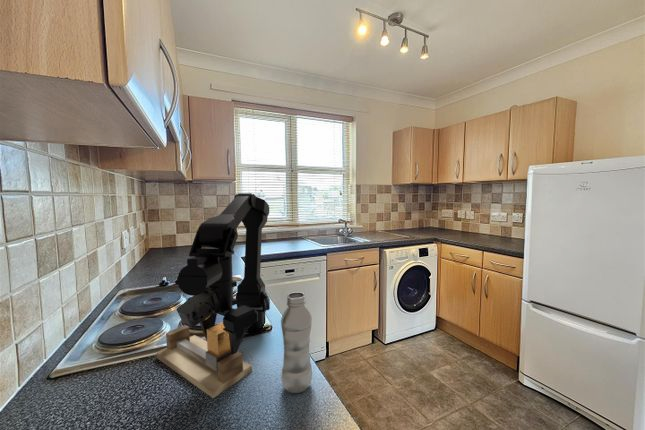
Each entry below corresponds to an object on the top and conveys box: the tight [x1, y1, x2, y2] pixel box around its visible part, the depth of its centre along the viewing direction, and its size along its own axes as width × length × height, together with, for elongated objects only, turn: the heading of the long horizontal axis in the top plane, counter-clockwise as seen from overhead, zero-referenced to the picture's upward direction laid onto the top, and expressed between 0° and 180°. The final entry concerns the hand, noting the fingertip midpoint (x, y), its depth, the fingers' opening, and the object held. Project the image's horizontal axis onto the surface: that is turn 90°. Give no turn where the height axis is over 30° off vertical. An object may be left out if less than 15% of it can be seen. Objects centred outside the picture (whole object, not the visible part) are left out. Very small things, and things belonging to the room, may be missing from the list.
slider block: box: [206, 321, 232, 372], centre depth 59 cm, size 5×4×8 cm
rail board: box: [156, 324, 253, 399], centre depth 64 cm, size 10×24×6 cm, turn 56°
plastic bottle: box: [280, 291, 313, 394], centre depth 56 cm, size 6×7×20 cm
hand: (221, 346), depth 59 cm, fingers open, 9 cm apart
